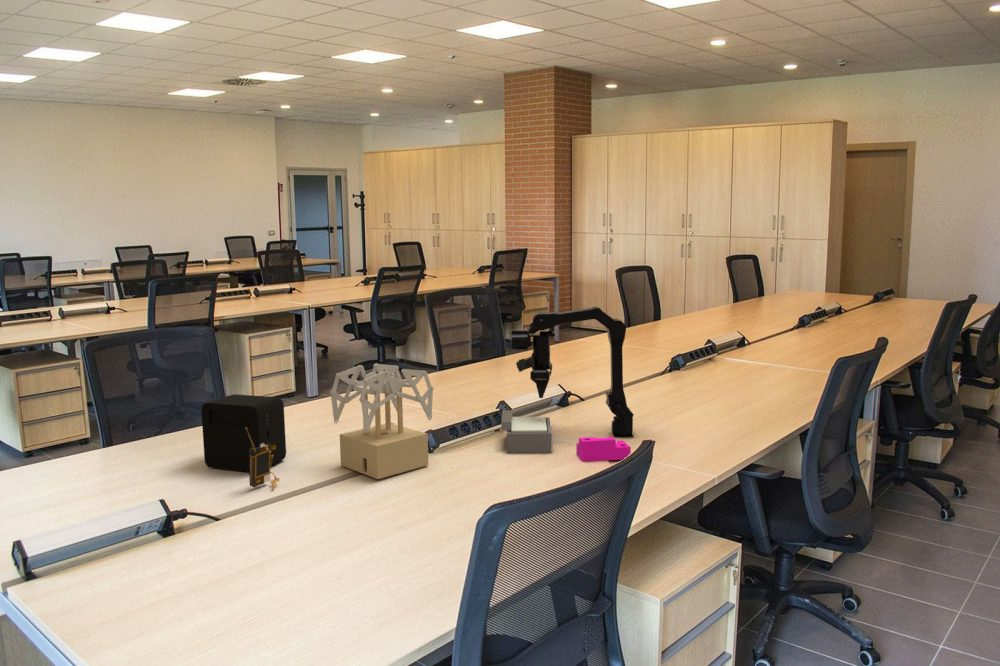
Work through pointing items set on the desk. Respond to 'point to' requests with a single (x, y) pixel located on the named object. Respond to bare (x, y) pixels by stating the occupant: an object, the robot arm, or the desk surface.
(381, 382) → the kinetic sculpture
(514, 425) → the trapdoor
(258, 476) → the walkie talkie
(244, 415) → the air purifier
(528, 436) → the hatch box
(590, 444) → the magenta saddle bracket
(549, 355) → the robot arm
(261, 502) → the desk surface
